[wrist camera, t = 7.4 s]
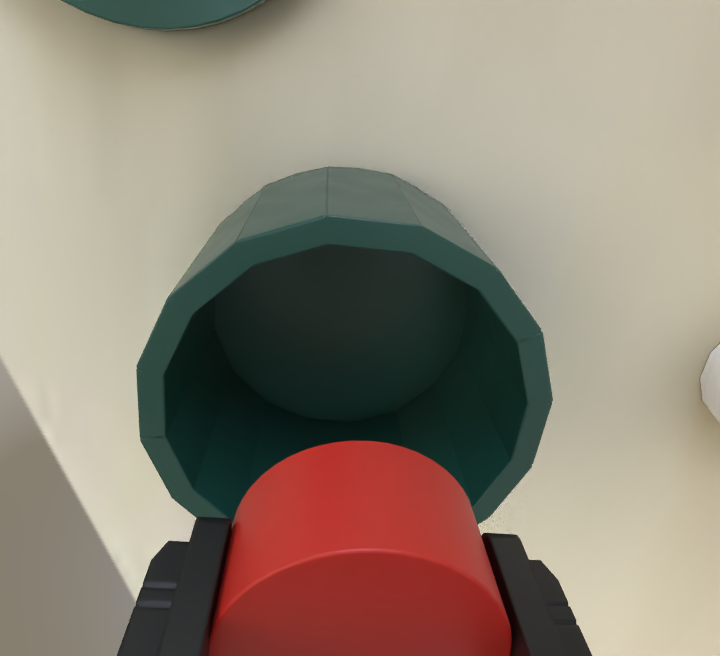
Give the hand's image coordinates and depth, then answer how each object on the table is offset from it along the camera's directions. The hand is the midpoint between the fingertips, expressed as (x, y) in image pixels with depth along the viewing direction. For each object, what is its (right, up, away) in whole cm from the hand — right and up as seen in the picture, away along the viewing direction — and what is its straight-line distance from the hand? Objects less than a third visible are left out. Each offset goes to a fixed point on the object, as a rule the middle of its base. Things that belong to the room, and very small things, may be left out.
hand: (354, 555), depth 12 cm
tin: (-1, +6, +12) cm, 14 cm away
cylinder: (0, 0, 0) cm, 0 cm away
